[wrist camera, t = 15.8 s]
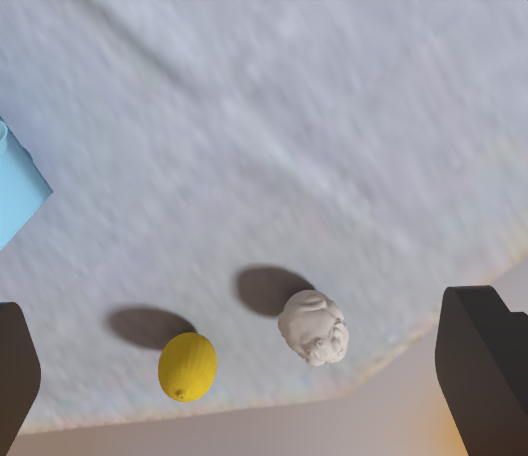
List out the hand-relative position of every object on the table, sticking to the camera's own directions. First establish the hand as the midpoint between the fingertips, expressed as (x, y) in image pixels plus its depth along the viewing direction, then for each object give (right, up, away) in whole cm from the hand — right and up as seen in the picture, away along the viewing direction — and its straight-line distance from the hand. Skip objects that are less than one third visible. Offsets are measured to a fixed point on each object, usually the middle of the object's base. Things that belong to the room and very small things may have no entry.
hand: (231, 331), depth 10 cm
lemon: (-7, -9, +43) cm, 44 cm away
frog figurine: (+5, -5, +41) cm, 41 cm away
